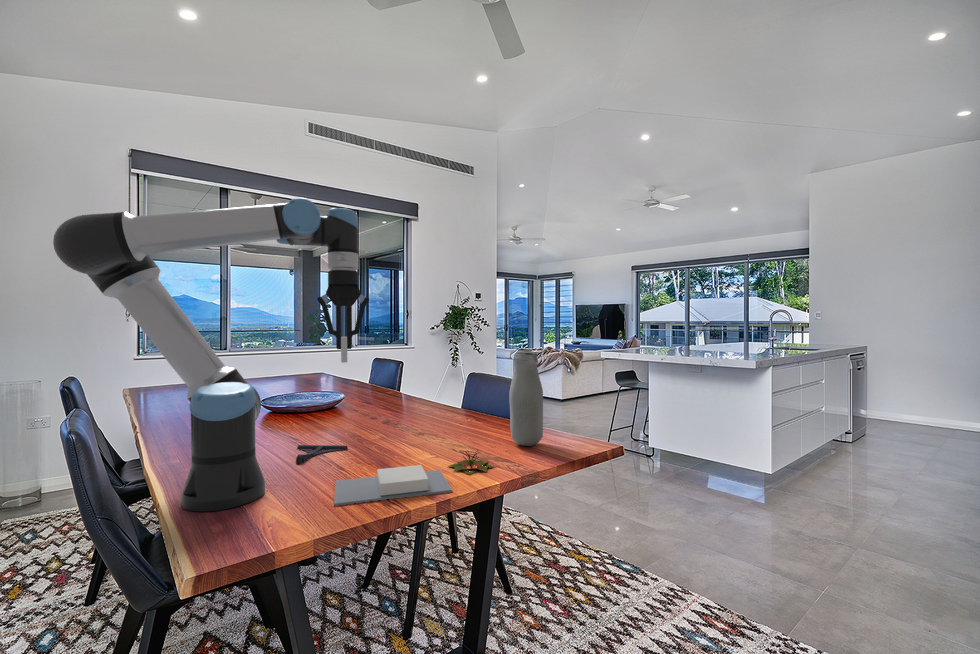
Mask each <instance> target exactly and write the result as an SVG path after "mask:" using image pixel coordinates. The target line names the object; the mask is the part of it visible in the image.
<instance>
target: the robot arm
mask: <svg viewBox="0 0 980 654" xmlns="http://www.w3.org/2000/svg"><path fill="white" fill-rule="evenodd" d="M358 221H359V220H358V214H357V212H356V211H354V210H353V209H349V208H344V207H338V208H337V207H332V208H329V209H328V210H327V213H326V215H324V216H323V215H321V213H320V210H319V208H318V206H317V205H316V204H315V203H314V202H313V201H312V200H310V199H308V198H306V197H305V198H304V197H295V198H292V199H290V200H289V201H288V202H285V203H284V202H283V203H275V204H274V203H273V204H262V205H261V204H260V205H252V206H251V205H250V206H240V207H239V206H238V207H230V208H229V207H227V208H219V209H218V208H216V209H204V210H195V211H194V210H193V211H185V212H184V211H183V212H173V213H161V214H159V213H158V214H150V215H149V214H147V215H137V216H135V215H133V214H131V213H129V212H128V211H119V212H109V213H108V212H107V213H105V212H104V213H90V214H82V215H77V216H74V217H71V218H69V219H66V220H65V221H64V222H62V223H61V224H60V225H59V226H58V227H57V229H56V231H55V233H54V235H53V240H52V243H53V249H54V251H55V254H56V255H57V257H58V258H59V259H60V261H61V262H62V263H63V264H65V266H67V267H68V268H70V269H71V270H73V271H76V272H78V273H81V274H84V275H87V276H88V277H89V278H90V280H91V281H92V282H93V284H94V285H95V286H96V288H98V290H99V291H100V292H101V293H102V295H103V296H105V297H108V298H114V299H117V300H118V301H119V303H120V304H121V305H122V306H123V308H124V309H125V310H126V311H127V313H128V314H129V315H130V316H131V318H132V319H133V320H134V321H135V323H136V324H137V325H138V327H140V329H141V330H142V331H143V333H144V334H145V335H146V337H148V339H149V340H150V341H151V342H152V344H153V345H154V346H155V347H156V349H157V350H158V351H159V352H160V354H161V355H162V356H163V358H164V359H165V360H166V361H167V363H168V364H169V365H170V366H171V368H172V369H173V370H174V371H175V373H176V374H177V375H178V376H179V377H180V379H181V380H182V381H183V383H185V386H187V388H188V389H187V395H186V399H187V400H188V401H189V402H190V404H189V411H190V439H191V442H190V444H191V445H190V446H191V447H190V448H191V467H190V469H189V472H188V475H187V477H186V480H185V484H184V486H183V490H182V493H181V507H182V508H183V509H185V510H187V511H192V512H215V511H222V510H228V509H233V508H236V507H240V506H243V505H246V504H249V503H252V502H254V501H256V500H258V499H259V498H262V496H263V495H265V493H266V480H265V478H264V475H263V473H262V470H261V468H260V464H259V461H258V459H257V457H256V454H257V453H256V421H257V419H258V417H259V416H260V413H261V408H262V400H261V398H260V397H261V396H260V394H259V392H258V391H257V389H256V388H255V387H254V386H252V384H250V383H248V382H247V381H246V380H245V378H244V377H243V376H242V374H241V373H240V372H239V370H237V368H236V367H234V366H227V365H225V364H224V363H223V362H222V360H221V359H220V357H219V356H218V355H217V354H216V352H215V351H214V349H212V347H211V346H210V344H209V343H208V342H207V340H206V339H205V337H203V335H202V334H201V332H199V330H198V329H197V327H196V326H195V325H194V324H193V322H192V320H190V319H189V318H188V316H187V315H186V313H185V312H184V311H183V309H182V308H181V306H179V304H178V303H177V301H176V300H175V298H173V296H172V295H171V294H170V292H168V289H166V287H165V286H164V285H163V283H162V282H161V281H160V280H159V277H160V274H161V268H160V267H159V266H158V265H157V263H156V262H155V261H154V259H153V258H152V257H151V256H152V255H158V254H159V255H160V254H166V253H175V252H183V251H192V250H200V249H206V248H217V247H225V246H232V245H234V246H235V245H242V244H249V243H257V242H267V241H274V240H275V241H276V242H277V243H278V244H279V245H289V246H311V247H312V246H314V247H327V268H328V272H327V289H326V290H325V294H323V295H321V296H318V297H317V302H318V303H319V304H320V306H321V310H322V313H323V316H324V320H325V324H326V327H327V332H328V334H329V335H332V336H334V337H335V338H336V339H335V340H336V342H335V344H336V345H335V346H336V350H340V355H341V357H340V358H341V359H340V360H341V361H340V362H341V363H344V364H345V363H348V350H352V348H353V336H355V335H358V334H360V330H361V326H362V321H363V316H364V312H365V309H366V306H367V304H368V303H369V302H370V298H369V297H366V296H365V295H363V294H362V293H361V290H360V281H359V278H360V277H359V272H358V271H357V270H359V229H360V228H359V224H358ZM328 299H329V300H330V302H332V304H333V306H335V330H334V326H333V322H332V319H331V316H330V312H329V307H328V303H329V300H328ZM358 299H359V303H360V306H359V309H358V313H357V318H356V321H355V326H354V329H353V328H352V327H353V326H352V323H353V320H352V318H353V317H352V315H353V314H352V312H353V311H352V307H353V306H354V304H355V303H356V302H357V300H358ZM342 307H346V336H342Z"/></svg>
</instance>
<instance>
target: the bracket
mask: <svg viewBox="0 0 980 654" xmlns="http://www.w3.org/2000/svg"><path fill="white" fill-rule="evenodd" d="M348 448H349V446H348V445H339V444H338V445H337V444H336V445H334V444H333V445H332V444H331V445H329V444H328V445H325V444H324V445H323V444H322V445H321V444H320V445H319V444H305V445H304V444H299V445H297V448H296V450H297V449H299V450H298V451H301V450H304V451H303V452H305V451H306V452H305V453H306V454H297V456H296V458H295V459H296V460H295V464H296V465H302V464H303V463H304V461H305V462H306V461H308V460H310V459H311V458H312V456H313V457H315V456H319V455H323V454H327V452H328V453H333V452H334V451H335V452H341V451H346V450H348ZM312 449H315V450H312ZM322 450H323V451H322ZM335 452H334V453H335ZM322 453H323V454H322ZM310 457H311V458H310ZM309 458H310V459H309ZM307 459H308V460H307ZM302 462H303V463H302ZM301 463H302V464H301Z"/></svg>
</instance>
